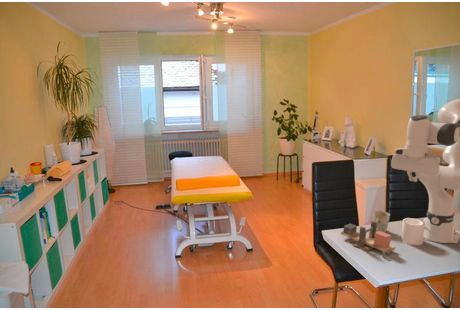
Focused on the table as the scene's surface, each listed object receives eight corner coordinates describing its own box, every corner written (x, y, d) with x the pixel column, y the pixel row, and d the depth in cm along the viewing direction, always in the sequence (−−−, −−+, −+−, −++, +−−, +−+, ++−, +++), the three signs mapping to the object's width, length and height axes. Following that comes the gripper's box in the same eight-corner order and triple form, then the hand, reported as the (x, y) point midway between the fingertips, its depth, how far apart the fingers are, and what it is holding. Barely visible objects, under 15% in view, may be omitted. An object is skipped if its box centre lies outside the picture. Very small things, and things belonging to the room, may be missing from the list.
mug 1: (390, 229, 197) (391, 213, 195) (383, 237, 188) (384, 220, 186) (375, 226, 203) (376, 210, 201) (367, 233, 193) (369, 216, 191)
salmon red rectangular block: (373, 244, 174) (375, 233, 173) (377, 241, 177) (379, 230, 175) (385, 248, 170) (386, 237, 168) (389, 246, 172) (390, 235, 171)
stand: (353, 245, 179) (354, 225, 177) (366, 238, 187) (367, 218, 185) (384, 257, 167) (386, 236, 164) (397, 249, 175) (399, 228, 172)
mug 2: (430, 240, 184) (432, 221, 182) (430, 248, 175) (432, 228, 173) (401, 235, 191) (403, 216, 188) (400, 242, 182) (402, 223, 180)
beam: (339, 234, 187) (341, 223, 185) (349, 230, 192) (350, 218, 191) (387, 253, 167) (388, 241, 166) (396, 248, 173) (397, 235, 171)
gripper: (443, 154, 153) (440, 184, 155) (397, 147, 168) (394, 175, 171) (437, 156, 149) (434, 187, 151) (390, 149, 164) (388, 178, 167)
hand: (413, 181), depth 161 cm, fingers closed
